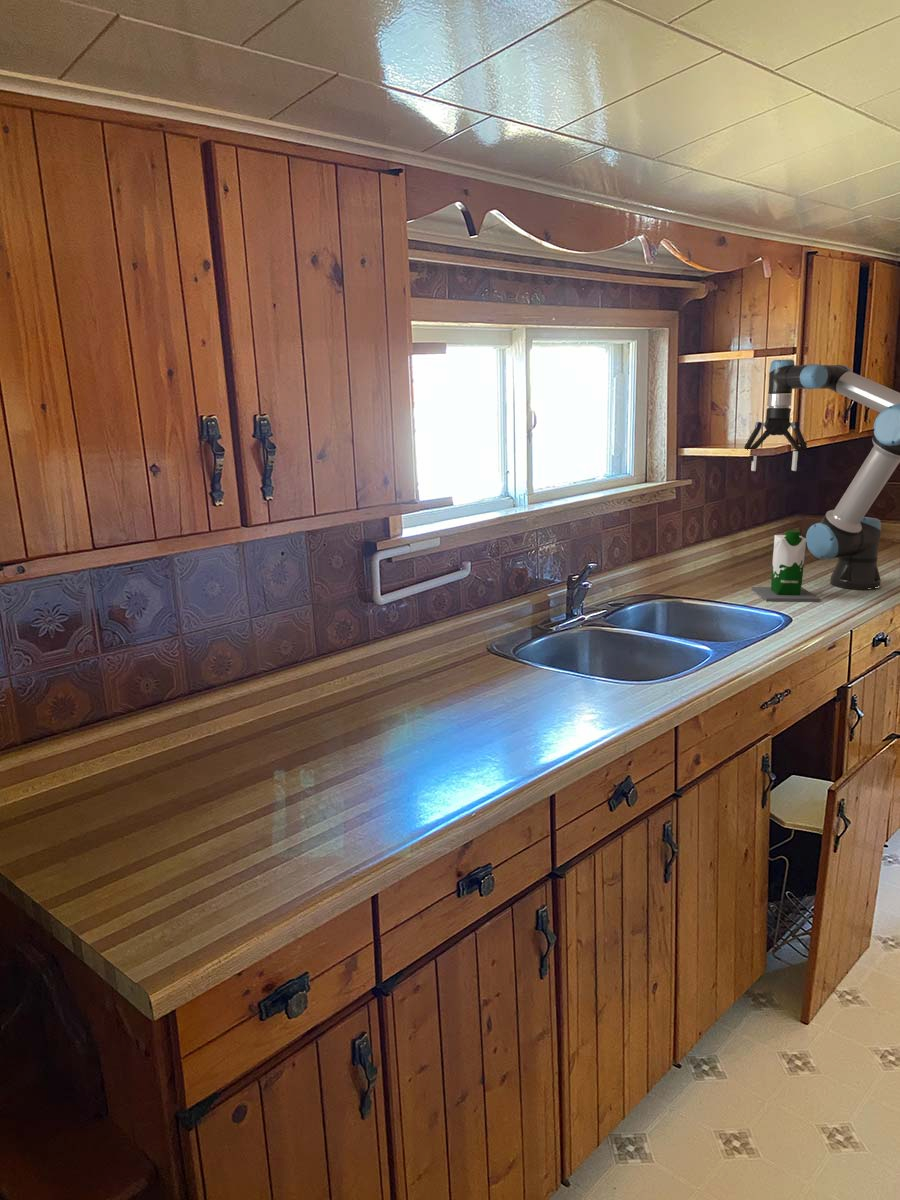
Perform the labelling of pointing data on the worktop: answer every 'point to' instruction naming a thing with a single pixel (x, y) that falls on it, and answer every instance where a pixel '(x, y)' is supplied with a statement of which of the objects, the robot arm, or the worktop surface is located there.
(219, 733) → the worktop surface
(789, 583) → the soya milk
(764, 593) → the charcoal mat
